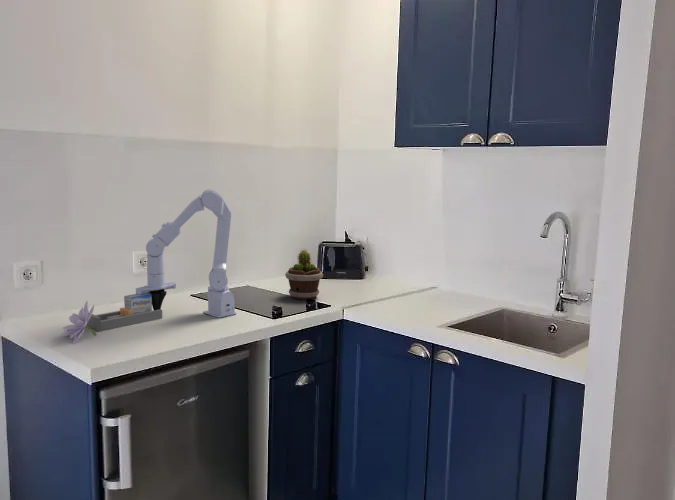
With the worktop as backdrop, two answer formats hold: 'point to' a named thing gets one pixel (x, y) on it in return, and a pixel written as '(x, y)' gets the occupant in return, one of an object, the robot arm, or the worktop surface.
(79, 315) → the water lily
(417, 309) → the worktop surface
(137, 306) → the medicine box
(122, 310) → the pusher
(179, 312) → the worktop surface
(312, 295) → the flowerpot
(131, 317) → the gray tray
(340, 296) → the worktop surface
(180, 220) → the robot arm
